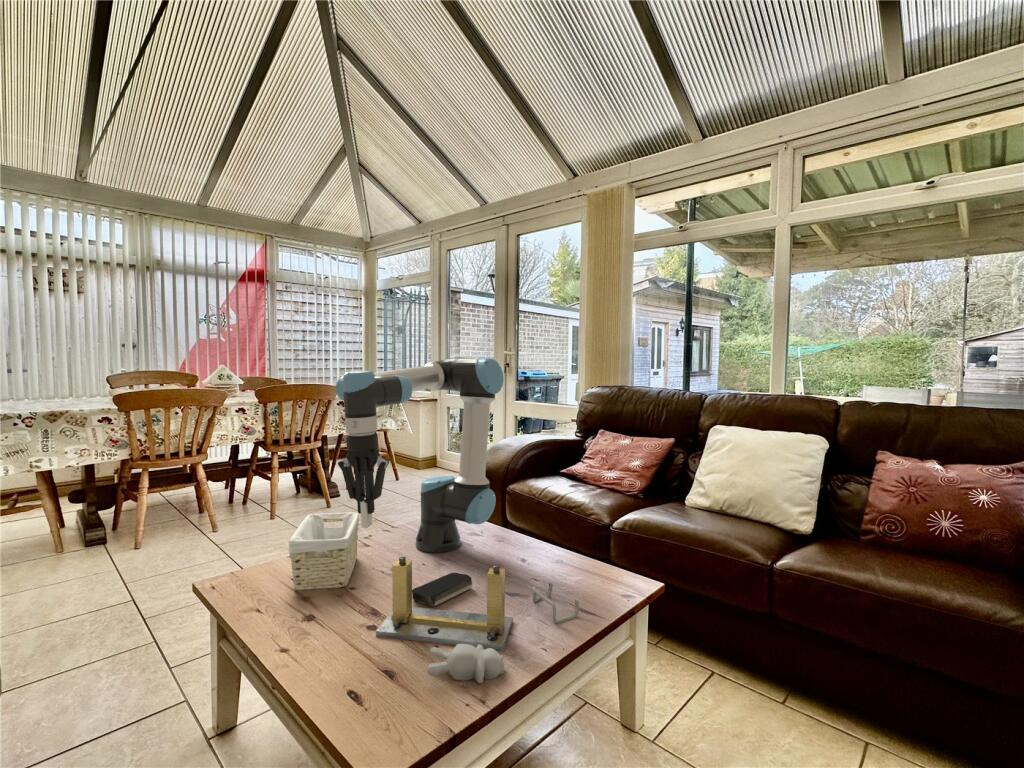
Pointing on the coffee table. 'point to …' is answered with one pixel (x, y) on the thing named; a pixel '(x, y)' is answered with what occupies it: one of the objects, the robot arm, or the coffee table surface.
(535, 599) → the bracket
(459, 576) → the black sponge
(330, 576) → the storage basket
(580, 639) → the coffee table surface
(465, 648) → the bunny figurine
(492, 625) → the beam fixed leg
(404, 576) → the sliding leg
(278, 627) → the coffee table surface
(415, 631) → the steel plate
